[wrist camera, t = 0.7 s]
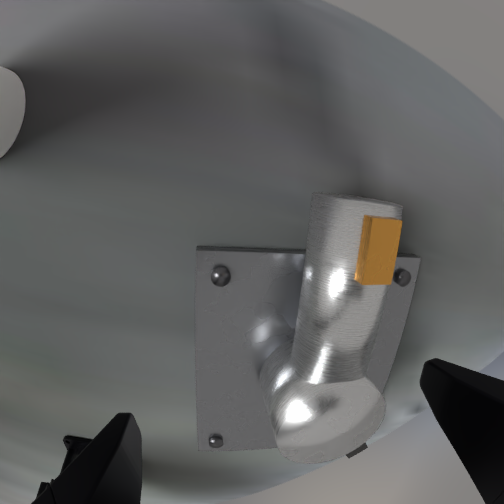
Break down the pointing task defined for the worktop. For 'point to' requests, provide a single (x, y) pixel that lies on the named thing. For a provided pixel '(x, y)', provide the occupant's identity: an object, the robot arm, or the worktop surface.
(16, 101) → the cylindrical container
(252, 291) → the flange
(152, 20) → the worktop surface
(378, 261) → the collar
